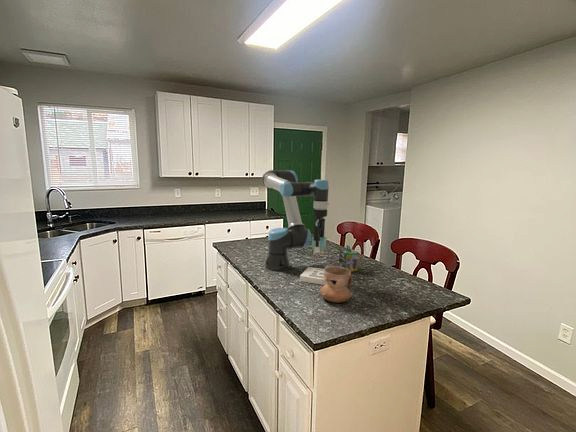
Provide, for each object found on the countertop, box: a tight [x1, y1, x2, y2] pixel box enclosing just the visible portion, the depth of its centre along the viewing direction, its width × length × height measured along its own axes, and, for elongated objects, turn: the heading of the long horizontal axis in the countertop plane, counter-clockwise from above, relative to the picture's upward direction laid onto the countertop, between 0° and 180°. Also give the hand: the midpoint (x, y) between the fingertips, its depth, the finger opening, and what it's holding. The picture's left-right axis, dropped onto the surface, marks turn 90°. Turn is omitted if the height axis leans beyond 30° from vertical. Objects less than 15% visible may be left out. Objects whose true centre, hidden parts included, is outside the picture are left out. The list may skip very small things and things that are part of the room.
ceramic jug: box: [319, 265, 353, 304], centre depth 145 cm, size 18×14×14 cm
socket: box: [299, 266, 327, 286], centre depth 171 cm, size 20×16×4 cm
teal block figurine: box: [311, 236, 327, 255], centre depth 168 cm, size 7×5×8 cm
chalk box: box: [338, 245, 360, 273], centre depth 186 cm, size 9×9×15 cm
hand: (318, 250), depth 169 cm, fingers closed on teal block figurine, 5 cm apart
